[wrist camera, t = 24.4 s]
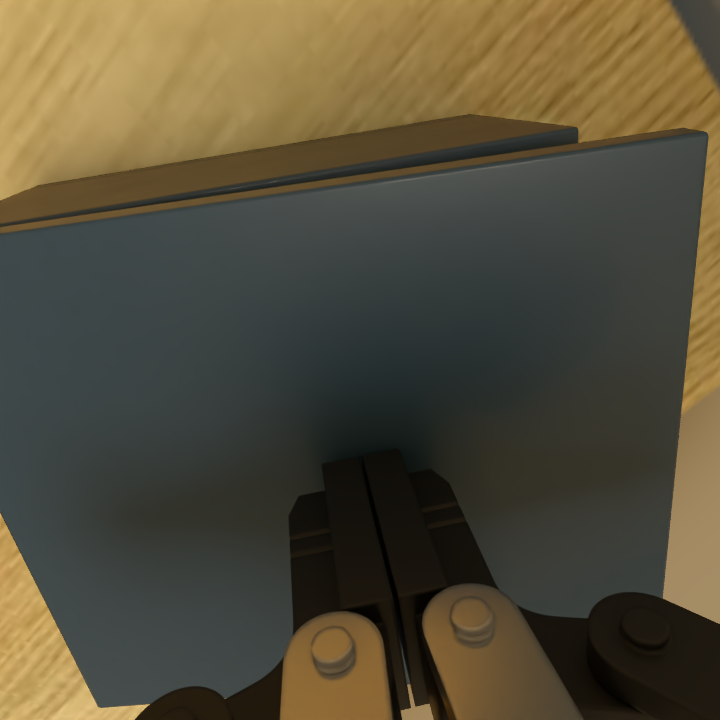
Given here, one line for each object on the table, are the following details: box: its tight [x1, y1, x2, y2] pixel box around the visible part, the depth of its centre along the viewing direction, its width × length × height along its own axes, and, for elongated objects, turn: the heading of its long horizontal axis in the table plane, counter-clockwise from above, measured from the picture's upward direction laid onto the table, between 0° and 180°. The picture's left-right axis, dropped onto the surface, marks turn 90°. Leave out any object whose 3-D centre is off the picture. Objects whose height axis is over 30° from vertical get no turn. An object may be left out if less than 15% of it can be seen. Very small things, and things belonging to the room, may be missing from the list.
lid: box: [0, 128, 708, 708], centre depth 12 cm, size 13×12×1 cm
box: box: [0, 114, 578, 227], centre depth 17 cm, size 13×12×7 cm
